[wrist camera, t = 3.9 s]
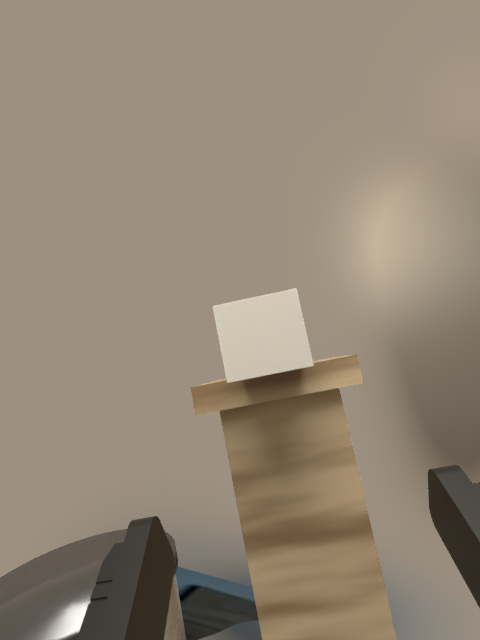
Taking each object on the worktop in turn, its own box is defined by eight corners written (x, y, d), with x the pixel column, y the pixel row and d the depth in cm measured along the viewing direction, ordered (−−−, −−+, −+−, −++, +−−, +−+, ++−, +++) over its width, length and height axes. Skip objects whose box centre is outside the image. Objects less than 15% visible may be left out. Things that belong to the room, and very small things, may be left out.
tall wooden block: (486, 894, 22) (356, 354, 26) (284, 912, 23) (190, 387, 27) (412, 707, 34) (331, 357, 38) (281, 724, 34) (217, 380, 39)
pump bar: (313, 365, 18) (286, 243, 19) (227, 383, 19) (204, 261, 20) (294, 364, 38) (281, 304, 39) (252, 373, 39) (240, 313, 39)
